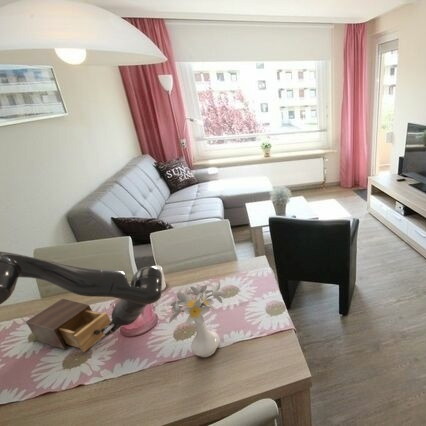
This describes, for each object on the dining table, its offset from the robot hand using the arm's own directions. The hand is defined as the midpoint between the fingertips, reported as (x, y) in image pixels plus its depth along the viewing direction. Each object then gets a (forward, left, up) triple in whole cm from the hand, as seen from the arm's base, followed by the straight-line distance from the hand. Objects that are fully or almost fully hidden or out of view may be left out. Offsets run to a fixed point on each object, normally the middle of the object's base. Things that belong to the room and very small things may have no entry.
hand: (113, 329), depth 101 cm
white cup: (+12, +31, -9) cm, 34 cm away
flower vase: (+28, -15, -9) cm, 33 cm away
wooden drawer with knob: (-12, +11, -8) cm, 18 cm away
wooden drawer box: (-19, +19, -9) cm, 28 cm away
